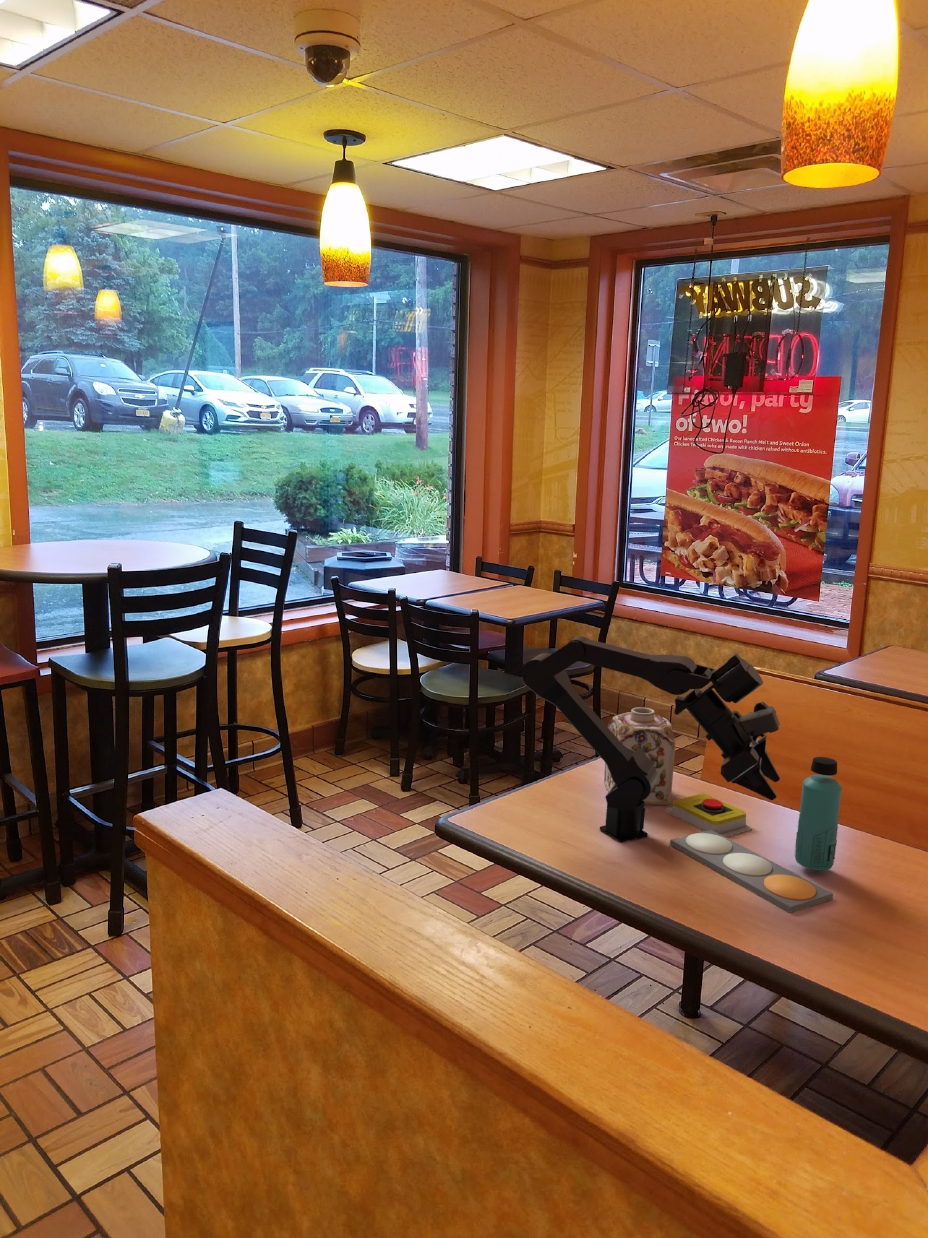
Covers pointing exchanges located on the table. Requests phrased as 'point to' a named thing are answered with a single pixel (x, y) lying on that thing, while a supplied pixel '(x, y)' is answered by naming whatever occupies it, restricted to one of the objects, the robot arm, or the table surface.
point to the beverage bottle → (819, 817)
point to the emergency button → (710, 814)
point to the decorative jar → (647, 748)
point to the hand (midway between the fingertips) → (776, 789)
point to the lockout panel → (752, 871)
